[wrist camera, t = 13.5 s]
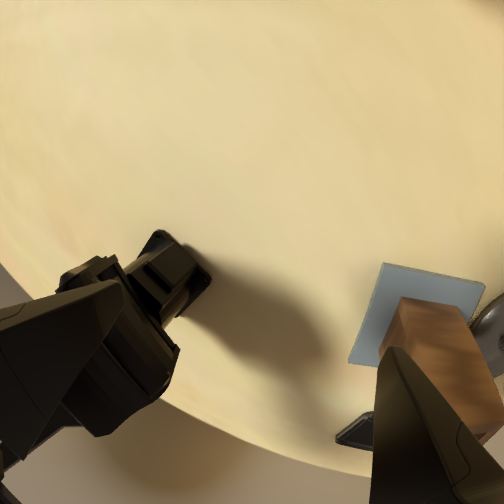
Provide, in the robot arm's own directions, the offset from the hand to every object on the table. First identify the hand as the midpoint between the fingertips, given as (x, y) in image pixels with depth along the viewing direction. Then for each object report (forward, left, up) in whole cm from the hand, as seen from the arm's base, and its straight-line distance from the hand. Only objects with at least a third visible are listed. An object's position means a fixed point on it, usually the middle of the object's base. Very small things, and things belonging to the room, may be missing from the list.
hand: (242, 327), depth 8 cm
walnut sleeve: (+1, -14, -12) cm, 19 cm away
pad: (+1, -14, -13) cm, 19 cm away
